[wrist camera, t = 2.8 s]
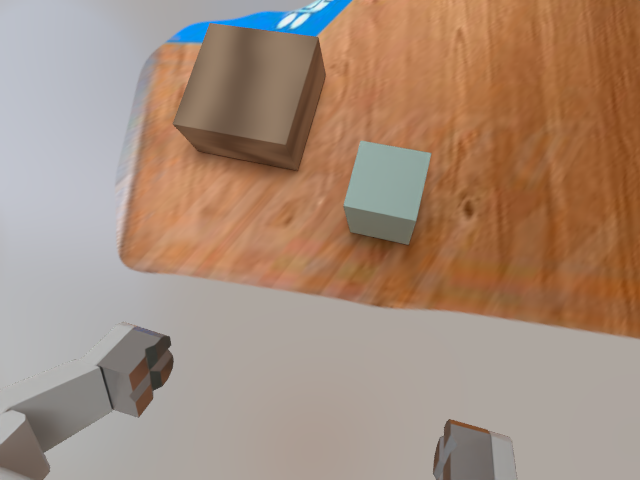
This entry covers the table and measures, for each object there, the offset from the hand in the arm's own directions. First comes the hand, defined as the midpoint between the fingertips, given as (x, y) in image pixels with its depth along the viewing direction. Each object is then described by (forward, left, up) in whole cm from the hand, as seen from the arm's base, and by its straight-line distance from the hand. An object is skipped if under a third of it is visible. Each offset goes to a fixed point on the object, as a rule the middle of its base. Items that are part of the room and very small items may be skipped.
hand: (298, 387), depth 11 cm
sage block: (0, -13, -22) cm, 25 cm away
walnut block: (+13, -20, -22) cm, 32 cm away
